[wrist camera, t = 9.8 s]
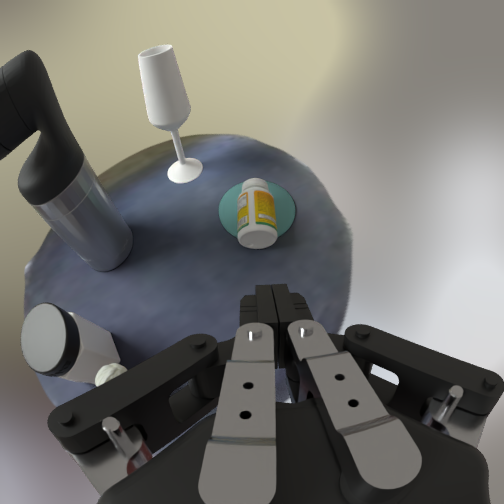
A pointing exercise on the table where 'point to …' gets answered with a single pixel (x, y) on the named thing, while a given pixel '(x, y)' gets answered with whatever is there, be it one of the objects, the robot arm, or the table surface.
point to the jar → (65, 344)
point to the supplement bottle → (256, 215)
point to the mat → (281, 203)
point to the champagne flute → (167, 104)
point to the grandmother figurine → (109, 373)
